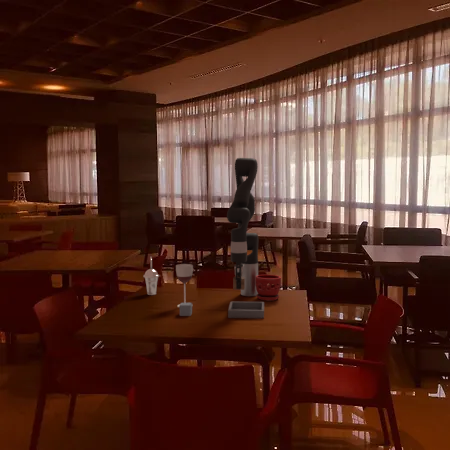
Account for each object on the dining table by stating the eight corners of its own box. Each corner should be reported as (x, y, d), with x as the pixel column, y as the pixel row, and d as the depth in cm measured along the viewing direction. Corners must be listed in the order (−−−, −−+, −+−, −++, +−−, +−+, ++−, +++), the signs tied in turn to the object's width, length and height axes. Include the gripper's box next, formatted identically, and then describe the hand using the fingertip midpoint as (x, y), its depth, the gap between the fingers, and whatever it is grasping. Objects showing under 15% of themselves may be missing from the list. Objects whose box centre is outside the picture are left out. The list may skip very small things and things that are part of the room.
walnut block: (234, 287, 240) (233, 276, 239) (244, 287, 239) (244, 276, 239) (233, 289, 235) (233, 278, 234) (244, 289, 234) (244, 278, 234)
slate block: (181, 313, 240) (181, 302, 240) (192, 313, 240) (191, 302, 239) (179, 315, 235) (179, 305, 235) (190, 316, 235) (190, 305, 234)
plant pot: (282, 301, 259) (282, 278, 258) (256, 301, 260) (255, 278, 259) (279, 295, 272) (279, 273, 271) (255, 295, 273) (254, 273, 272)
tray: (230, 308, 247) (230, 301, 246) (264, 309, 245) (264, 302, 245) (228, 317, 231) (228, 310, 230) (263, 318, 229) (263, 310, 229)
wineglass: (173, 306, 252) (172, 266, 250) (182, 302, 259) (182, 263, 257) (187, 308, 248) (186, 267, 246) (196, 304, 255) (195, 264, 254)
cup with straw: (141, 295, 276) (140, 258, 274) (148, 291, 285) (147, 256, 283) (155, 296, 274) (154, 259, 272) (162, 292, 282) (161, 256, 280)
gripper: (246, 253, 228) (246, 291, 230) (247, 249, 242) (247, 284, 244) (229, 253, 229) (229, 290, 230) (231, 248, 243) (232, 284, 245)
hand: (239, 287), depth 237 cm, fingers closed on walnut block, 5 cm apart
